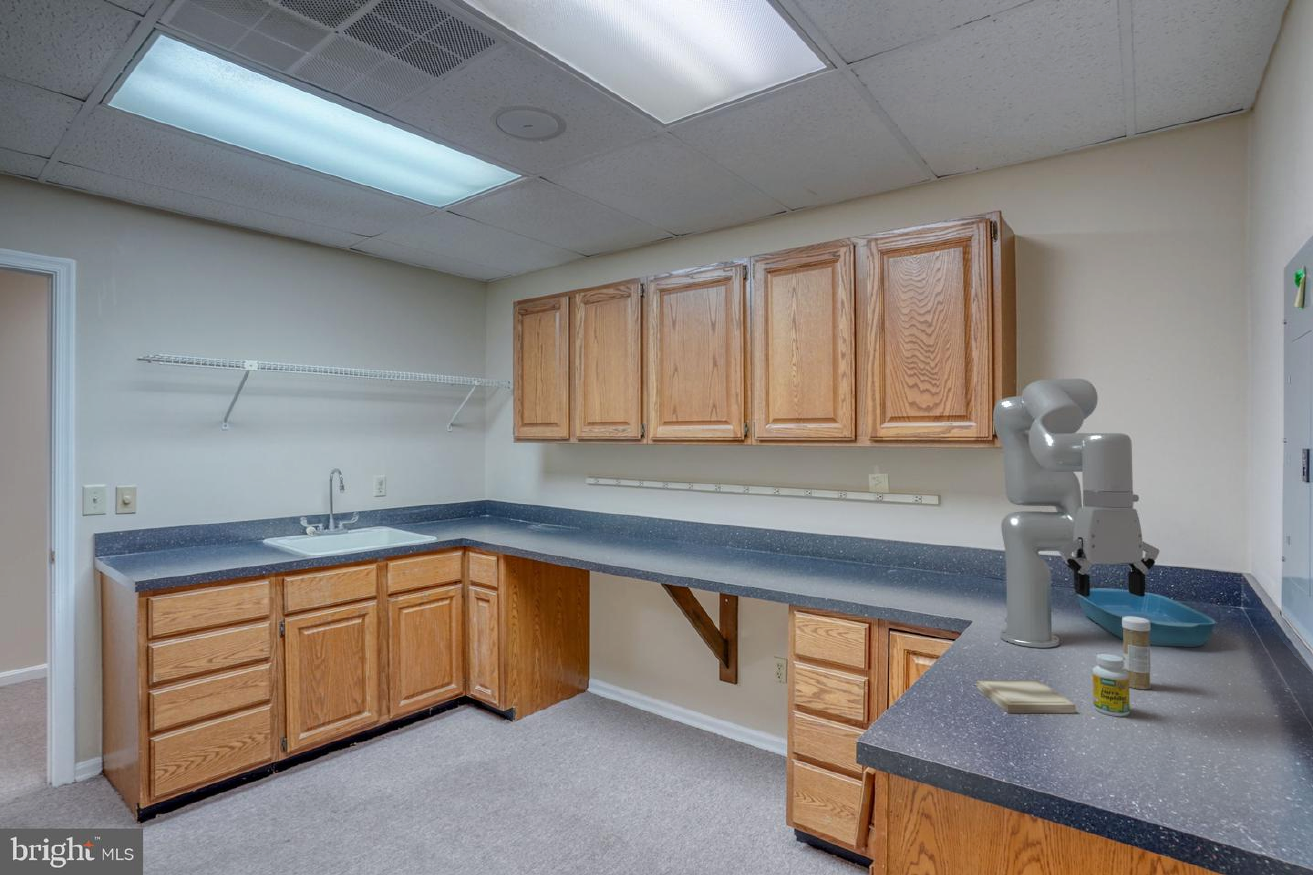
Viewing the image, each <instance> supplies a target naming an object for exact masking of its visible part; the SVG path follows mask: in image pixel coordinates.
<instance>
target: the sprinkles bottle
mask: <svg viewBox="0 0 1313 875" xmlns="http://www.w3.org/2000/svg"><path fill="white" fill-rule="evenodd" d="M1122 627H1123V639H1122V642H1123V643H1122V644H1123V645H1122V658H1123V660H1124V667H1123V670H1125V671H1126V672H1127V673H1128V675H1129V688H1131V689H1136V690H1149V689H1151V687H1152V686H1151V645H1150V644H1149V633H1150V621H1149V620H1147V619H1145V618H1140V617H1132V616H1127V617H1123V618H1122Z"/></svg>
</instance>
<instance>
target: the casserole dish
mask: <svg viewBox="0 0 1313 875" xmlns="http://www.w3.org/2000/svg"><path fill="white" fill-rule="evenodd" d="M1076 596H1077V599H1078V601H1079V602H1078V603H1079V606H1080V607H1081V609H1082V611H1083V614H1085V615H1086V616H1087V617H1088V618H1089V619H1090V620H1092V621H1093V622H1095V623H1096V624H1097V623H1098V625H1099V626H1100V627H1102V628H1103V629H1105V630H1106V631H1108V632H1109V633H1111V634H1113V635H1114V636H1115V637H1117V638H1119V639H1121V640H1123V627H1122V618H1123V617H1127V616H1132V617H1140V618H1145V619H1147V620H1149V621H1150V633H1149V644H1150V646H1159V645H1160V646H1159V647H1176V646H1184V648H1195V647H1200V646H1202V645H1204V644H1206V642H1207V641H1208V640H1209V638H1210V636H1211V634H1212V632H1213V629H1214V628H1215V626H1216V624H1217V623H1216V622H1217V621H1216V620H1215V619H1214V618H1212V617H1210V616H1209V615H1207V614H1204V613H1202V612H1200V611H1198V610H1196V609H1194V608H1191V607H1189V606H1187V605H1185V604H1183V603H1181V602H1178V601H1177V600H1174V599H1172V598H1169V597H1166V596H1164V595H1161V594H1157V593H1152V592H1146V591H1145V596H1144V597H1140V596H1137V595H1133V594H1131V593H1129V589H1120V588H1112V587H1111V588H1109V587H1107V588H1105V587H1101V588H1100V587H1097V588H1090V596H1089V597H1084V596H1082V595H1079V594H1076Z"/></svg>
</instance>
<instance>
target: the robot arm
mask: <svg viewBox="0 0 1313 875" xmlns="http://www.w3.org/2000/svg"><path fill="white" fill-rule="evenodd" d="M1098 398H1099V397H1098V391H1097V390H1096V387H1095V386H1094V385H1093V383H1092V382H1090V381H1089V380H1087V379H1083V378H1051V379H1038V380H1034V381H1033V382H1030V383H1029V384H1028V385H1026V386H1025V388H1024V389H1023V390H1022V392H1021V395H1017V396H1010V397H1005V398H1003V399H1002V398H1001V399H1000V400H998V401H997V402H996V403H995V405H994V409H993V413H992V419H993V425H994V426H993V427H994V431H995V433H996V436H997V439H998V442H999V444H1000V447H1001V449H1002V454H1003V470H1004V472H1003V473H1004V483H1005V485H1004V486H1005V493H1006V494H1005V495H1006V497H1007V500H1008V501H1009V502H1010V503H1011V504H1013V505H1017V506H1024V507H1025V506H1027V507H1054V508H1055V510H1056V511H1041V510H1040V511H1031V510H1029V511H1028V510H1025V511H1014V512H1010V513H1008V514H1007V515H1005V517H1003V519H1002V520H1001V524H1000V525H1001V529H1000V530H1001V534H1002V536H1001V537H1002V540H1003V546H1004V554H1005V572H1006V574H1005V576H1006V616H1005V617H1004V622H1005V623H1006V629H1002V630H1001V631H1000V633H999V635H1000V639H1002V640H1003V641H1006V642H1007V641H1008V642H1007V643H1010V644H1013V643H1014V645H1018V646H1023V647H1030V648H1037V649H1038V648H1055V647H1057V646H1059V645H1060V638H1059V637H1058V636H1056V635H1054V634H1052V631H1053V629H1052V628H1053V627H1052V626H1053V625H1052V624H1053V623H1052V574H1051V568H1050V566H1049V565H1048V563H1047V562H1046V560H1044V558H1043V557H1042V556H1041V555H1040V554H1039V552H1058V553H1059V554H1060V557H1061V558H1062V559H1063V563H1064V564H1065V565H1066V566H1067V567H1068V568H1069V569H1070V572H1073V588H1074V591H1075V594H1076V595H1077V594H1079V595H1082V596H1084V597H1089V596H1090V589H1091V586H1090V585H1091V584H1090V582H1091V578H1090V575H1089V574H1087V573H1088V572H1089V570H1090V568H1092V567H1093V565H1094V564H1095V565H1127V566H1128V568H1130V571H1128V574H1127V575H1128V577H1127V578H1128V590H1129V593H1131V594H1133V595H1137V596H1140V597H1144V596H1145V592H1146V575H1148V574H1149V572H1150V571H1149V570H1151V568H1152V567H1153V566H1154V565H1155V564H1156V559H1157V558H1158V556H1159V555H1160V550H1159V549H1158V548H1156V547H1155V546H1153V545H1150V544H1149V543H1148V542H1145V541H1143V536H1142V535H1143V534H1142V532H1143V531H1142V528H1141V526H1142V525H1141V523H1140V522H1141V521H1140V518H1139V517H1140V516H1139V513H1138V510H1137V509H1136V508H1134V503H1135V502H1139V500H1140V498H1139V495H1138V494H1135V493H1134V491H1133V490H1134V489H1133V486H1134V483H1133V482H1134V481H1133V444H1132V440H1131V437H1130V436H1129V435H1127V434H1125V433H1117V432H1112V433H1111V432H1109V433H1108V432H1107V433H1106V432H1105V433H1104V432H1099V433H1097V432H1095V433H1093V432H1092V433H1090V432H1089V433H1088V432H1087V433H1086V432H1081V433H1080V432H1078V431H1079V430H1080V429H1081V428H1082V426H1083V423H1084V421H1085V420H1086V419H1087V418H1089V416H1091V415H1092V414H1093V413H1094V411H1095V410H1096V408H1097V405H1098V401H1099V399H1098ZM1027 431H1029V432H1027ZM1079 472H1080V473H1082V491H1081V485H1080V484H1081V483H1080V481H1079V477H1078V476H1077V474H1076V473H1079ZM1144 552H1145V554H1144ZM1072 554H1073V555H1072ZM1143 554H1144V555H1143ZM1073 557H1074V558H1073Z"/></svg>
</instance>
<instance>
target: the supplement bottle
mask: <svg viewBox="0 0 1313 875" xmlns="http://www.w3.org/2000/svg"><path fill="white" fill-rule="evenodd" d="M1096 663H1097V665H1096V666H1094V667H1093V668H1092V693H1093V694H1092V696H1093V698H1092V699H1093V700H1092V701H1093V702H1092V703H1093V708H1094V709H1095V710H1096V711H1097V712H1099V713H1101V714H1104V715H1107V716H1112V717H1127V716H1128V715H1129V714H1130V712H1131V705H1130V704H1131V702H1130V687H1129V675H1128V673H1127V672H1126V671H1125V670H1124V660H1123V657H1121V656H1119V655H1115V654H1106V653H1099V654H1097V655H1096Z"/></svg>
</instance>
